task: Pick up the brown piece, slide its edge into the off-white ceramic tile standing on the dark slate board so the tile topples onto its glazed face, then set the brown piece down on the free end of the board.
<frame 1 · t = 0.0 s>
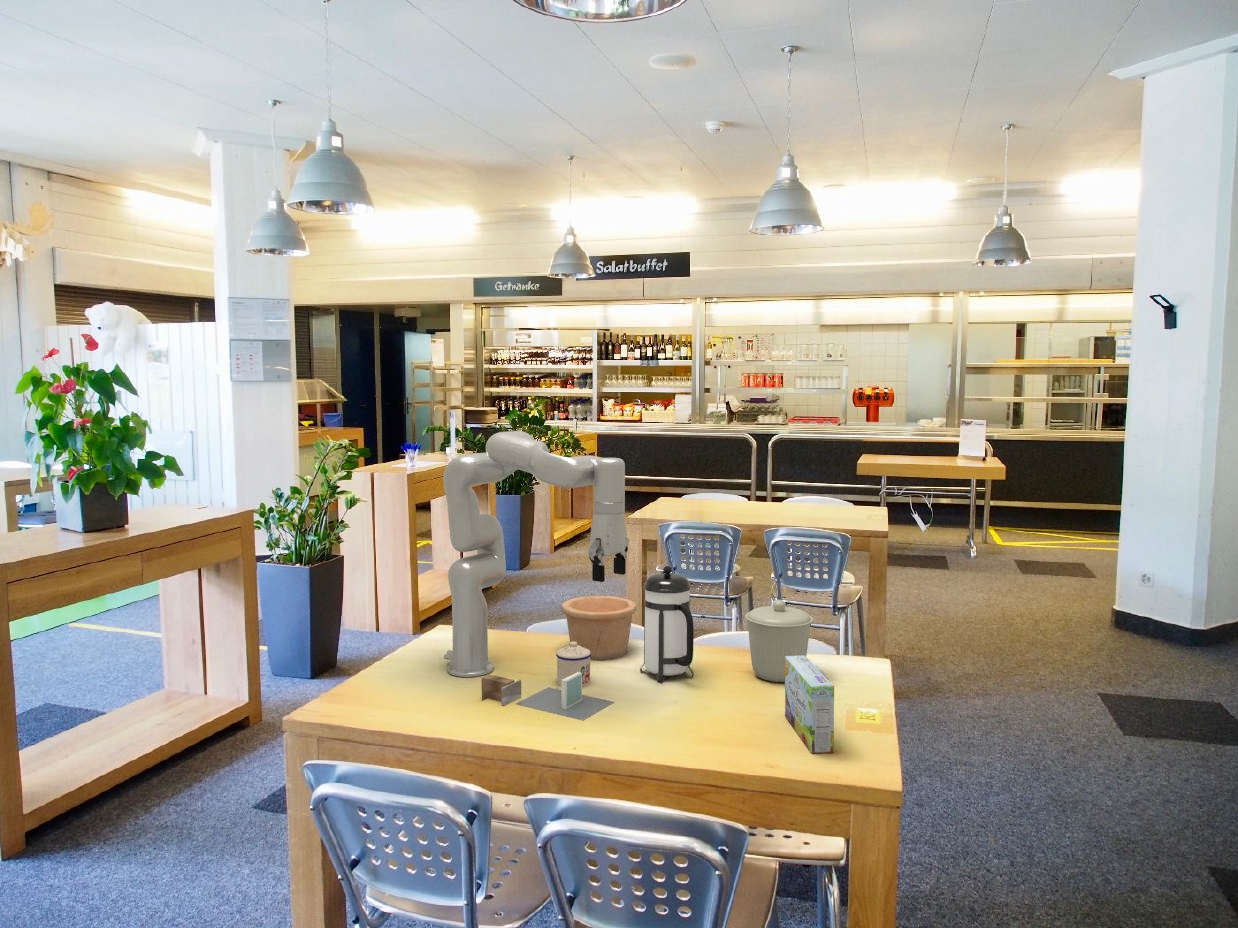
hand: (609, 577, 211), 31 cm above the table, fingers open, 9 cm apart
canister: (777, 677, 233), on the table
brown piece: (498, 702, 213), on the table
tile: (571, 704, 209), point 1 cm above the table, touching slate board
slate board: (565, 706, 210), on the table
coffee press: (670, 676, 233), on the table
snack box: (807, 735, 194), on the table
teacup with lid: (575, 684, 226), on the table
pottery: (599, 652, 254), on the table
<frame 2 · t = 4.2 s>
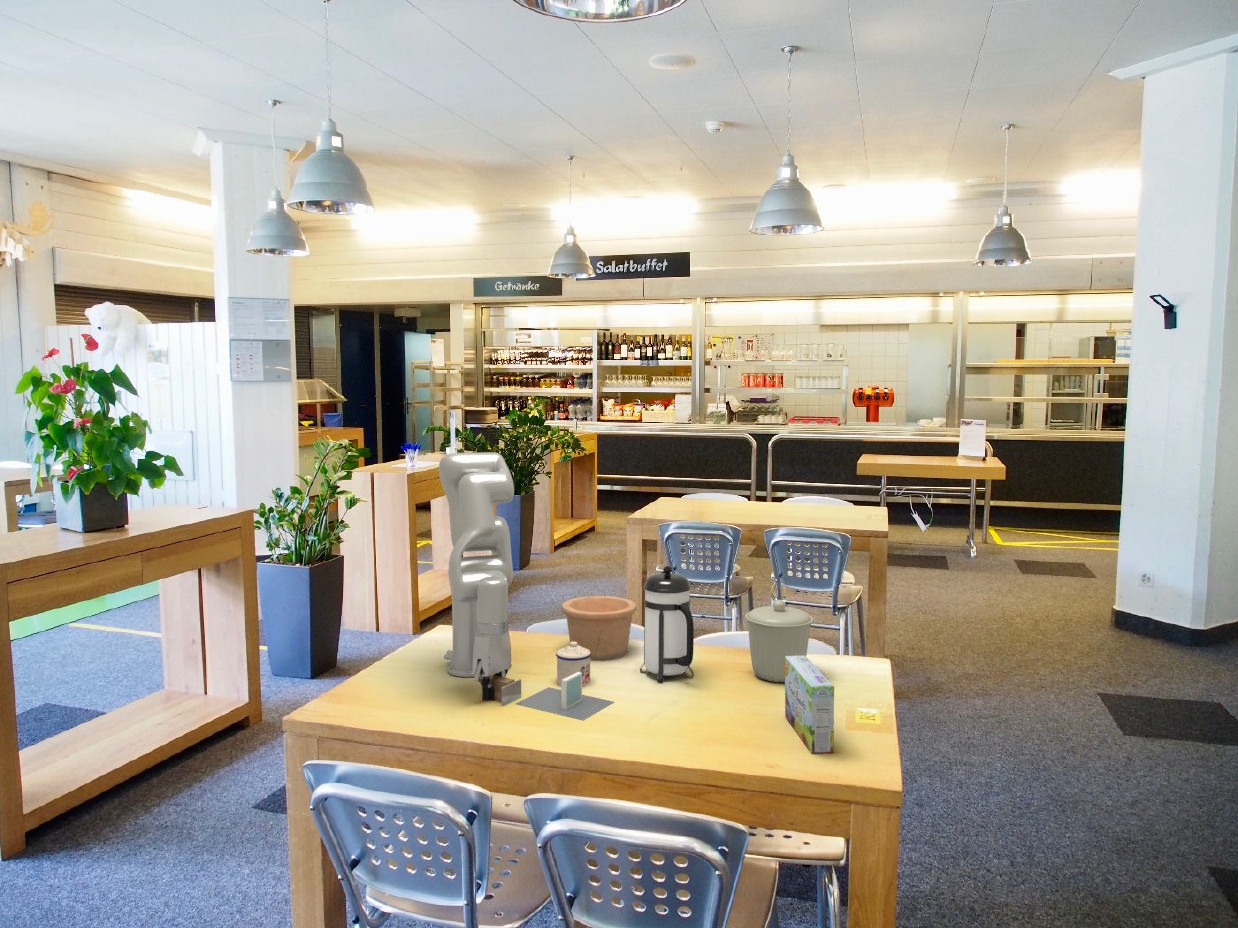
hand: (493, 699, 214), 0 cm above the table, fingers closed on brown piece, 3 cm apart
brown piece: (498, 701, 213), on the table, touching gripper
everything else where it was.
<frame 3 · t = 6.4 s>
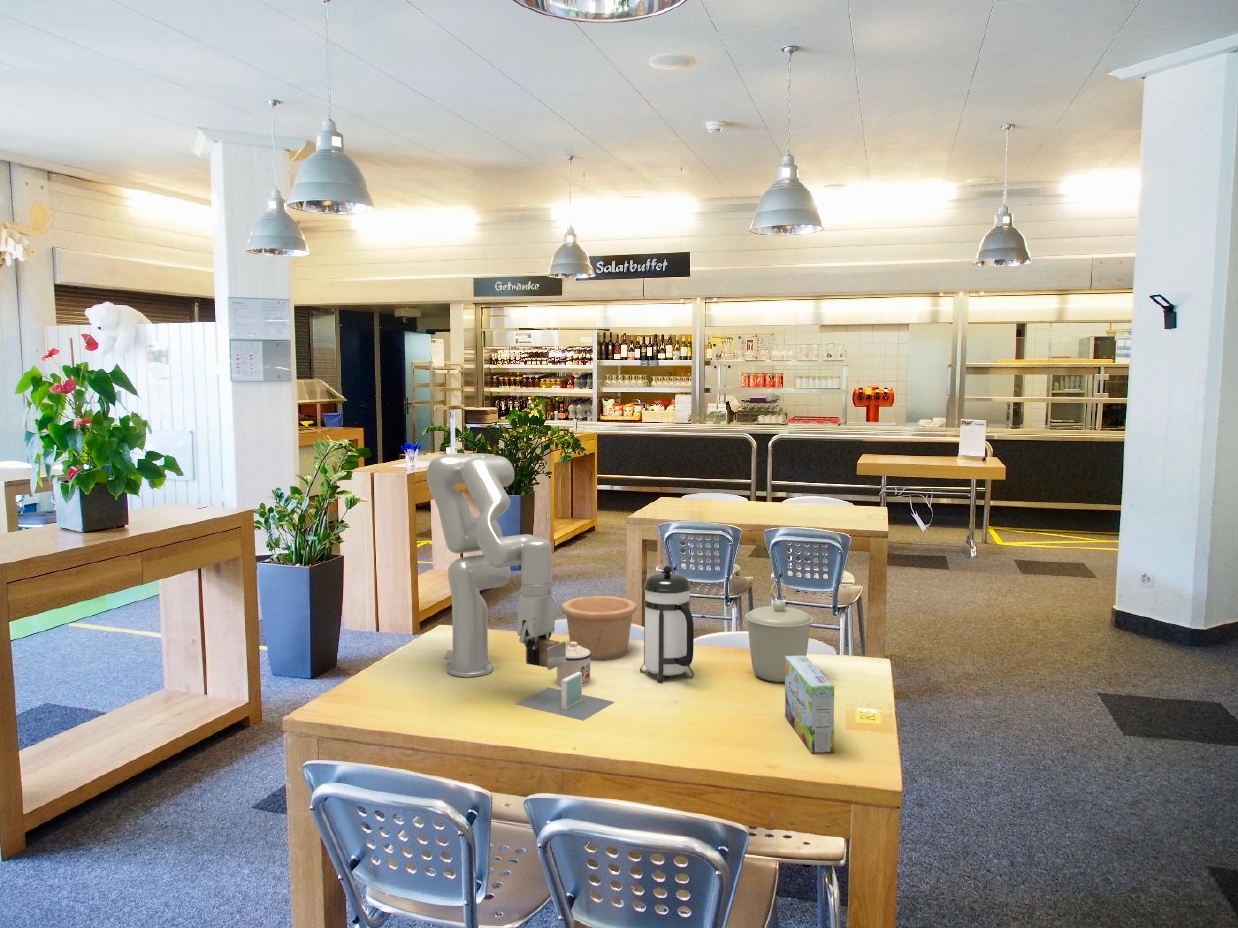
hand: (537, 661, 213), 10 cm above the table, fingers closed on brown piece, 3 cm apart
brown piece: (542, 664, 212), point 10 cm above the table, touching gripper
everything else where it was.
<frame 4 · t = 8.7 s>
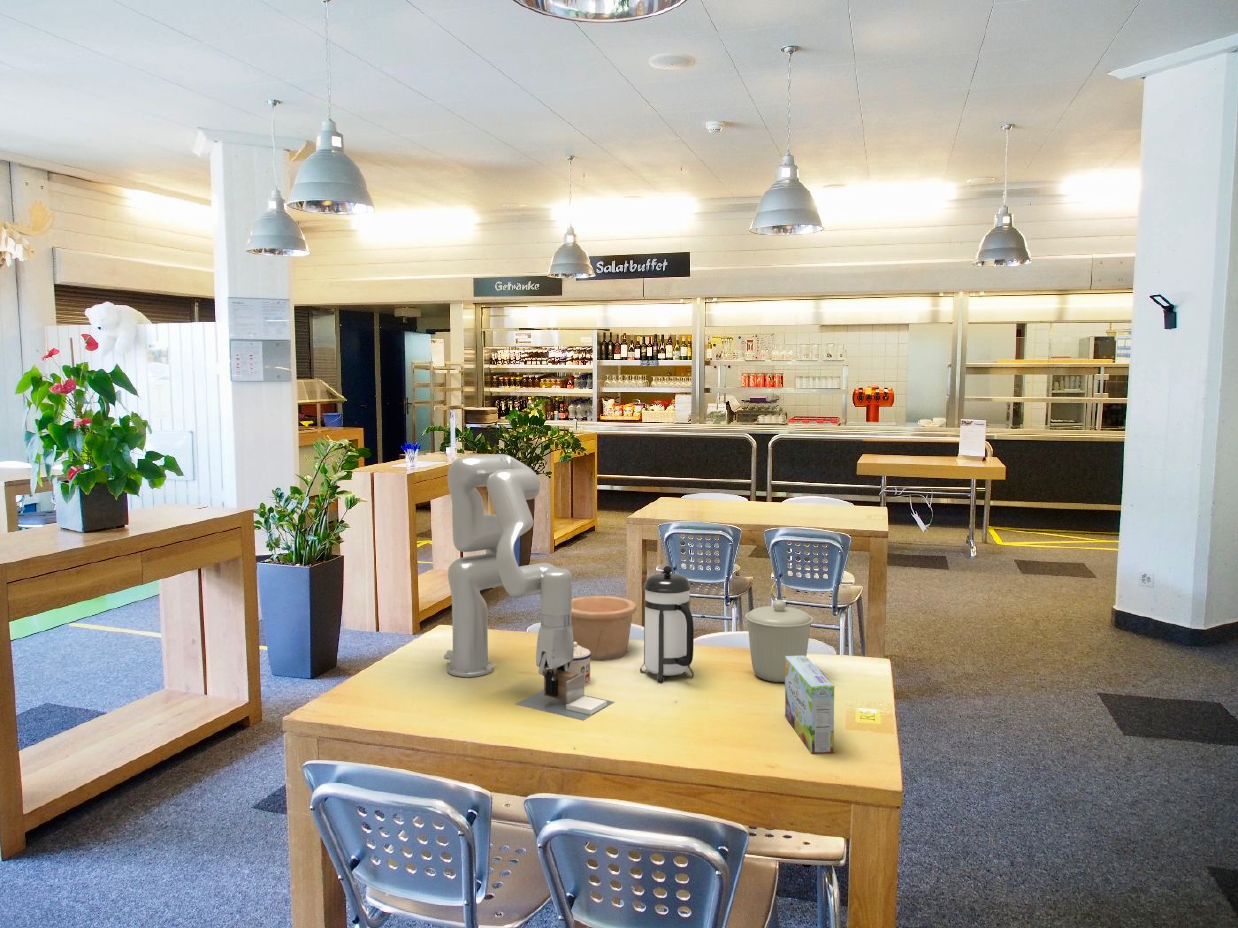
hand: (556, 692, 211), 3 cm above the table, fingers closed on brown piece, 3 cm apart
brown piece: (560, 696, 210), point 2 cm above the table, touching gripper
tile: (574, 702, 208), point 2 cm above the table, tilted 90°, touching slate board
everything else where it was.
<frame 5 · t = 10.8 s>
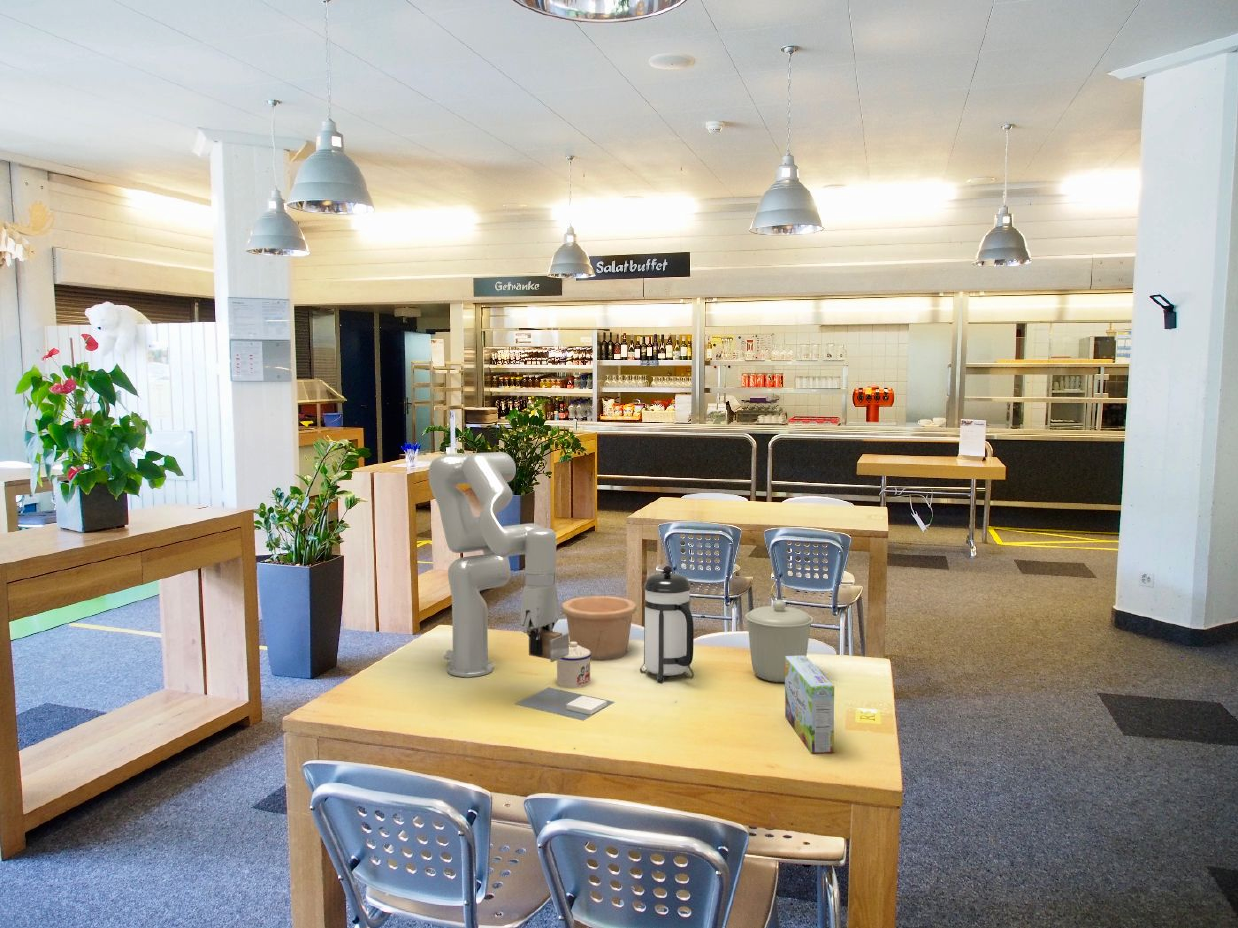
hand: (540, 651, 211), 13 cm above the table, fingers closed on brown piece, 3 cm apart
brown piece: (545, 656, 211), point 12 cm above the table, touching gripper
everything else where it was.
when the fingers open (3 cm above the table, at t = 12.9 s): brown piece stays where it is, resting on slate board.
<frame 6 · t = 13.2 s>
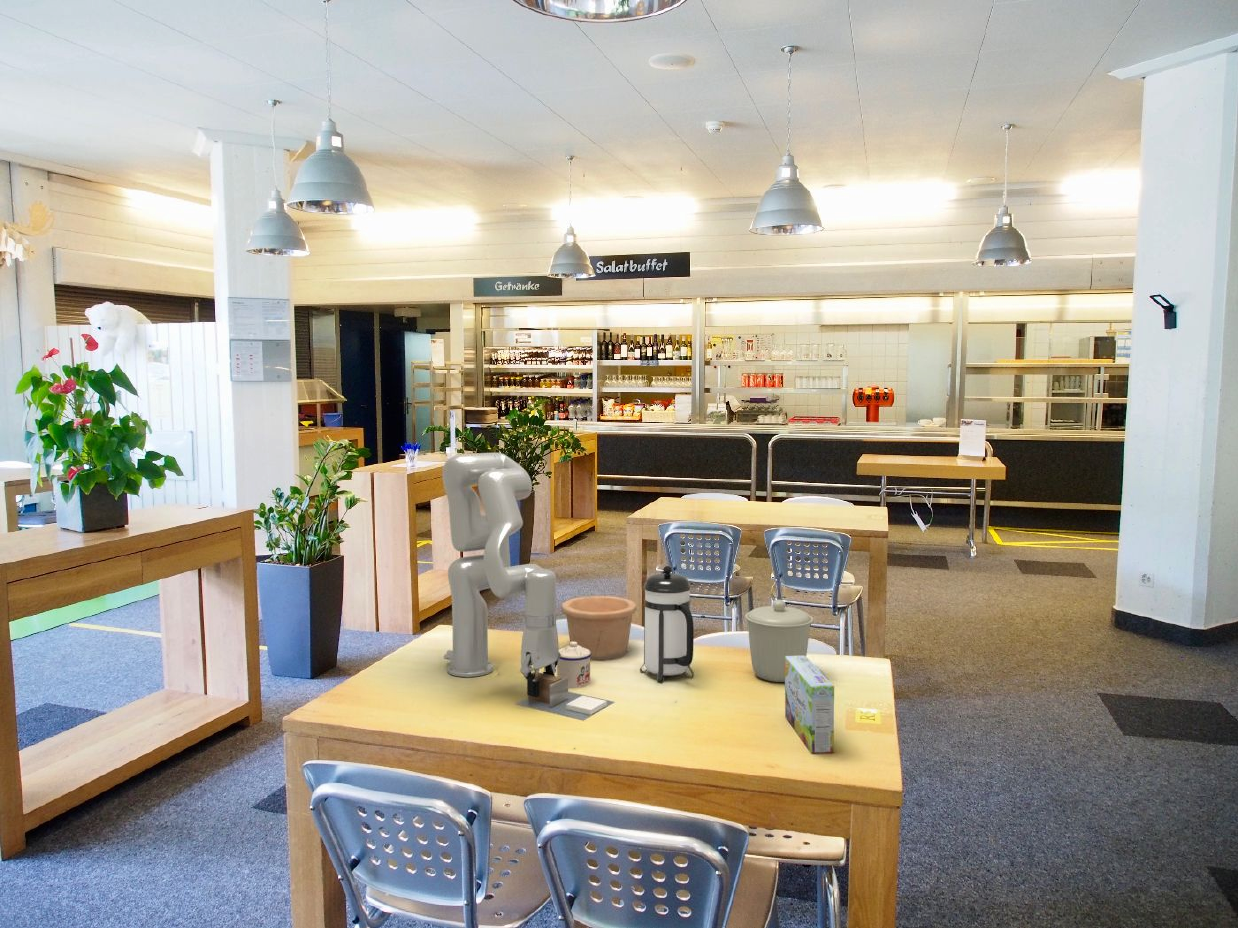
hand: (541, 691, 212), 3 cm above the table, fingers open, 5 cm apart
brown piece: (545, 699, 212), point 1 cm above the table, touching slate board
everything else where it was.
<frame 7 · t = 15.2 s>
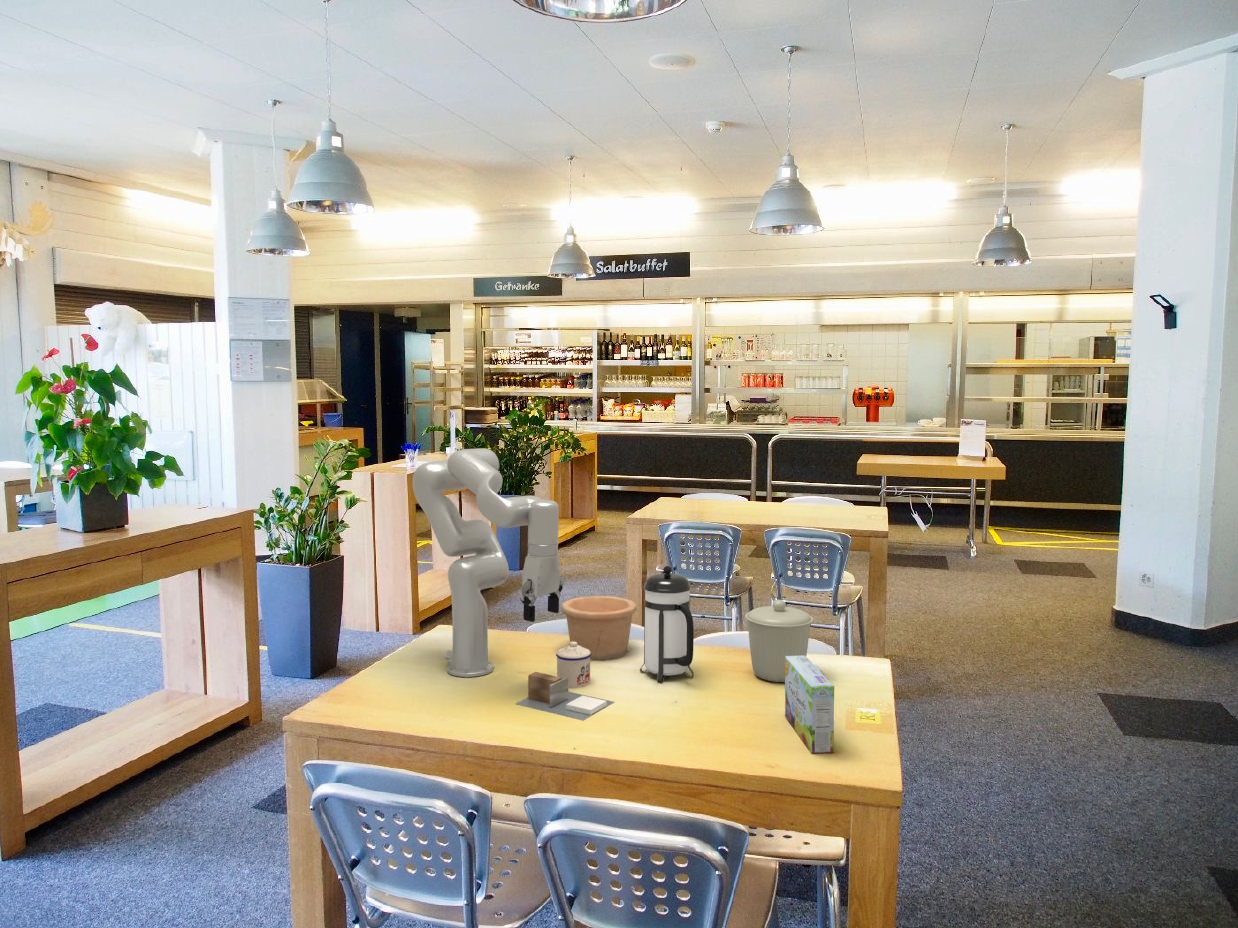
hand: (541, 616, 217), 20 cm above the table, fingers open, 9 cm apart
nothing on the table moved.
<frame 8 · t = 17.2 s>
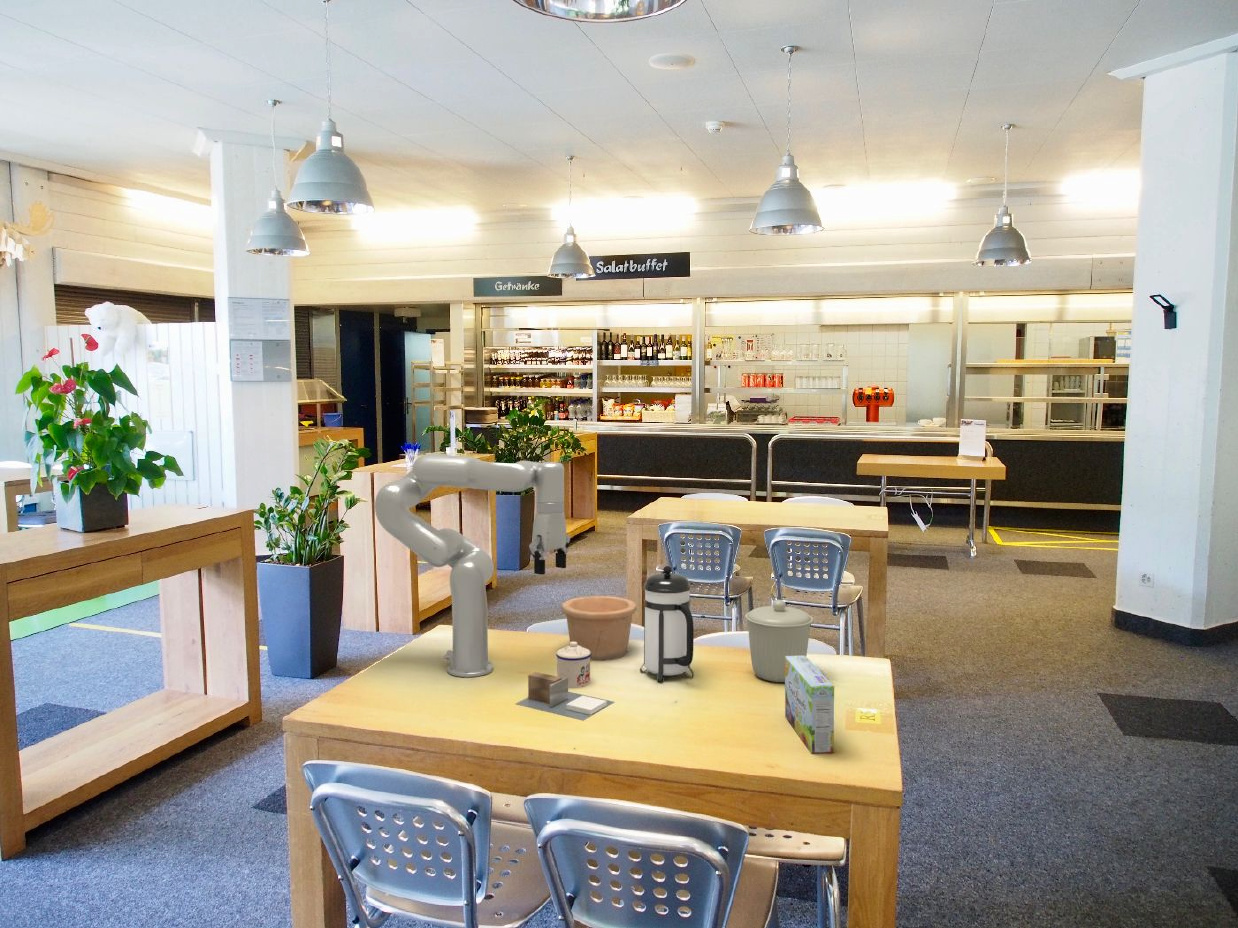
hand: (550, 570, 233), 28 cm above the table, fingers open, 9 cm apart
nothing on the table moved.
at the end: tile tilted 90°; brown piece inside the target area on the slate board (1.3 cm from its centre), point 1.0 cm above the slate board's base; the gripper is holding nothing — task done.
